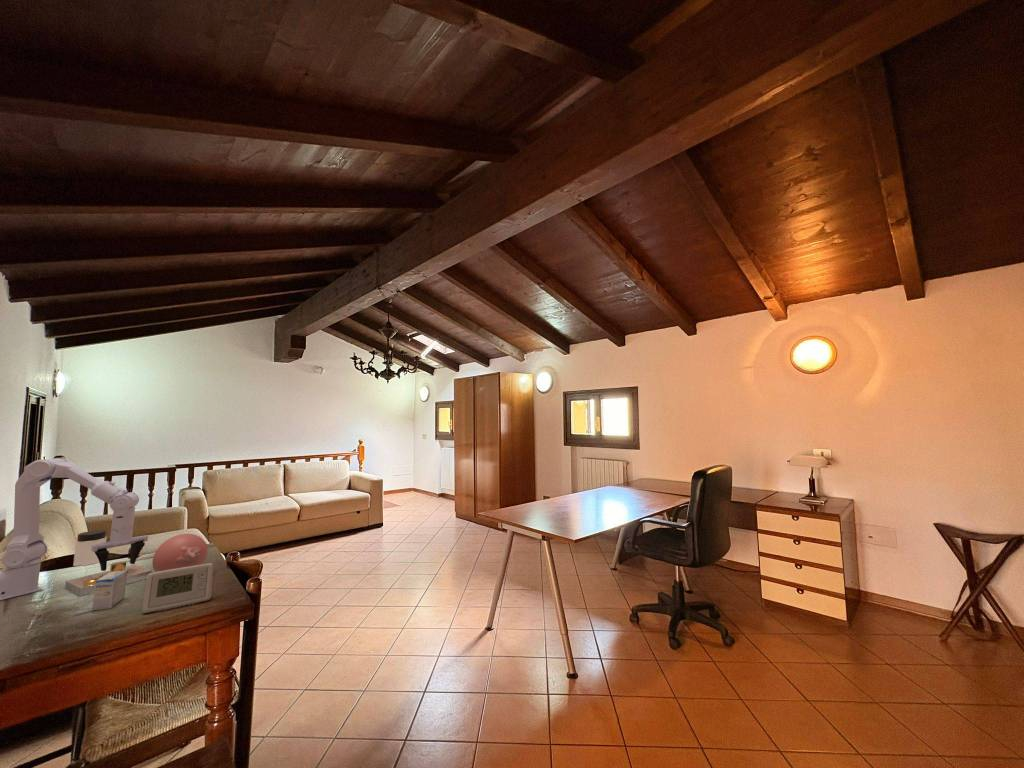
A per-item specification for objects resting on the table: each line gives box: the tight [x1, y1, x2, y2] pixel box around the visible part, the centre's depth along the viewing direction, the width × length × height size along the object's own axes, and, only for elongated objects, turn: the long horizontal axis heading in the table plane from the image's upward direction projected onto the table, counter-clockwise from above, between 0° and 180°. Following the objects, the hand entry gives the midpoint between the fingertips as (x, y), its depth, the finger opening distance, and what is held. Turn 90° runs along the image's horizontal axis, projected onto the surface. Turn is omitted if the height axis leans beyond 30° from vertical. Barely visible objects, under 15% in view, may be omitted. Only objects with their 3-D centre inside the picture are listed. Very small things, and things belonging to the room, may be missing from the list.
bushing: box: [109, 561, 127, 572], centre depth 140 cm, size 4×4×6 cm
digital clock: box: [141, 562, 214, 614], centre depth 121 cm, size 16×9×11 cm, turn 113°
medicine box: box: [91, 571, 127, 611], centre depth 121 cm, size 8×4×9 cm, turn 23°
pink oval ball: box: [151, 533, 209, 572], centre depth 141 cm, size 15×20×15 cm
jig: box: [64, 564, 152, 597], centre depth 138 cm, size 18×14×4 cm
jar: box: [72, 529, 108, 567], centre depth 160 cm, size 9×8×12 cm
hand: (118, 566), depth 140 cm, fingers open, 7 cm apart
